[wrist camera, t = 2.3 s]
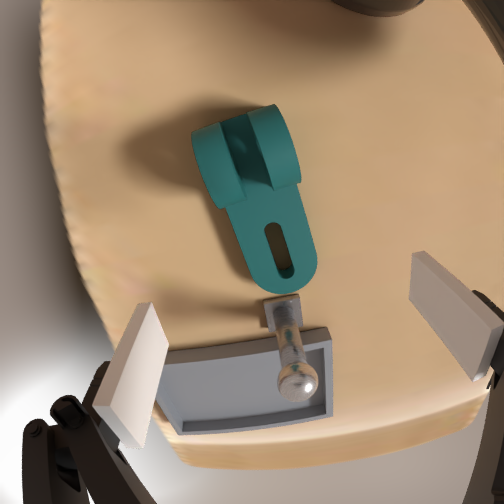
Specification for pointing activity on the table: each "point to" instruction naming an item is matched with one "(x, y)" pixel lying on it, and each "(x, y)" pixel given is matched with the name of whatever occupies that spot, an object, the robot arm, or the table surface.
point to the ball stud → (290, 348)
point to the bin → (241, 386)
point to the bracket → (259, 192)
